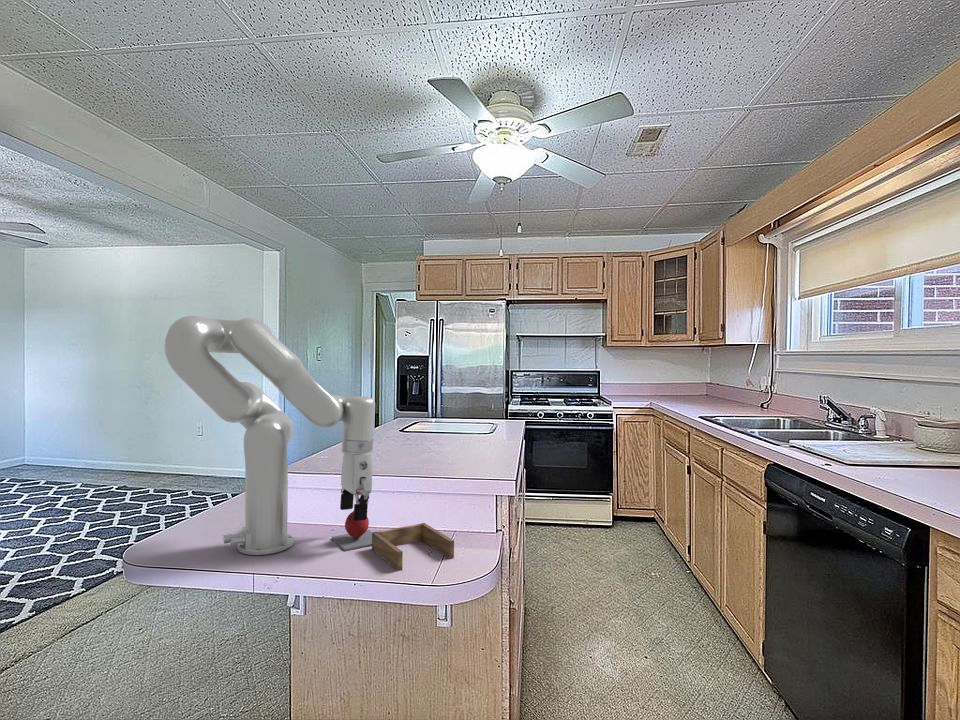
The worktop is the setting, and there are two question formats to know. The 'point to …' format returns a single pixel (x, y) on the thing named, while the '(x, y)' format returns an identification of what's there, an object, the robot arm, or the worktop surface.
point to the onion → (356, 526)
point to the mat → (353, 541)
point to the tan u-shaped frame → (391, 538)
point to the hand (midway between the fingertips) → (353, 514)
